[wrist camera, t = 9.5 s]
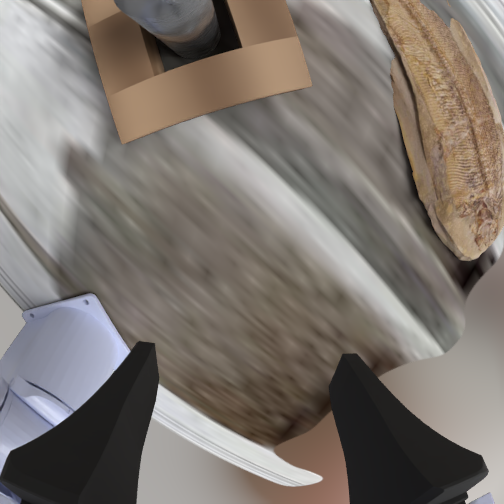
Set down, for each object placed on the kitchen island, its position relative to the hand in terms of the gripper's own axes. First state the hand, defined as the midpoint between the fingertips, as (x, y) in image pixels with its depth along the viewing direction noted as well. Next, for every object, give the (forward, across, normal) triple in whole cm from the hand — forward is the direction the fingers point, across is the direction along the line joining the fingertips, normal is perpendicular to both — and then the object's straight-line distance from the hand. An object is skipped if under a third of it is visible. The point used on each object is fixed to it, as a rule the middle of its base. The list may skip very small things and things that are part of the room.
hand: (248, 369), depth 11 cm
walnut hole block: (+10, +4, -13) cm, 17 cm away
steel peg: (+10, +4, -13) cm, 17 cm away
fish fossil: (+11, -13, -13) cm, 21 cm away
